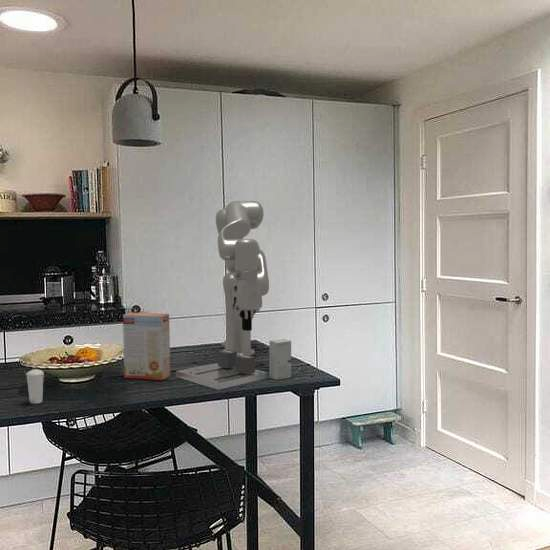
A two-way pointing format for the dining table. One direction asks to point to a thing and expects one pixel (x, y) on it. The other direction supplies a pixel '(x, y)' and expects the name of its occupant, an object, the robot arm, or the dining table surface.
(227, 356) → the fader
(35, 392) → the milkshake
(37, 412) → the dining table surface
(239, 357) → the fader
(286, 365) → the skincare box
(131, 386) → the dining table surface
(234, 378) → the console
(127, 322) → the cracker box
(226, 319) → the robot arm
